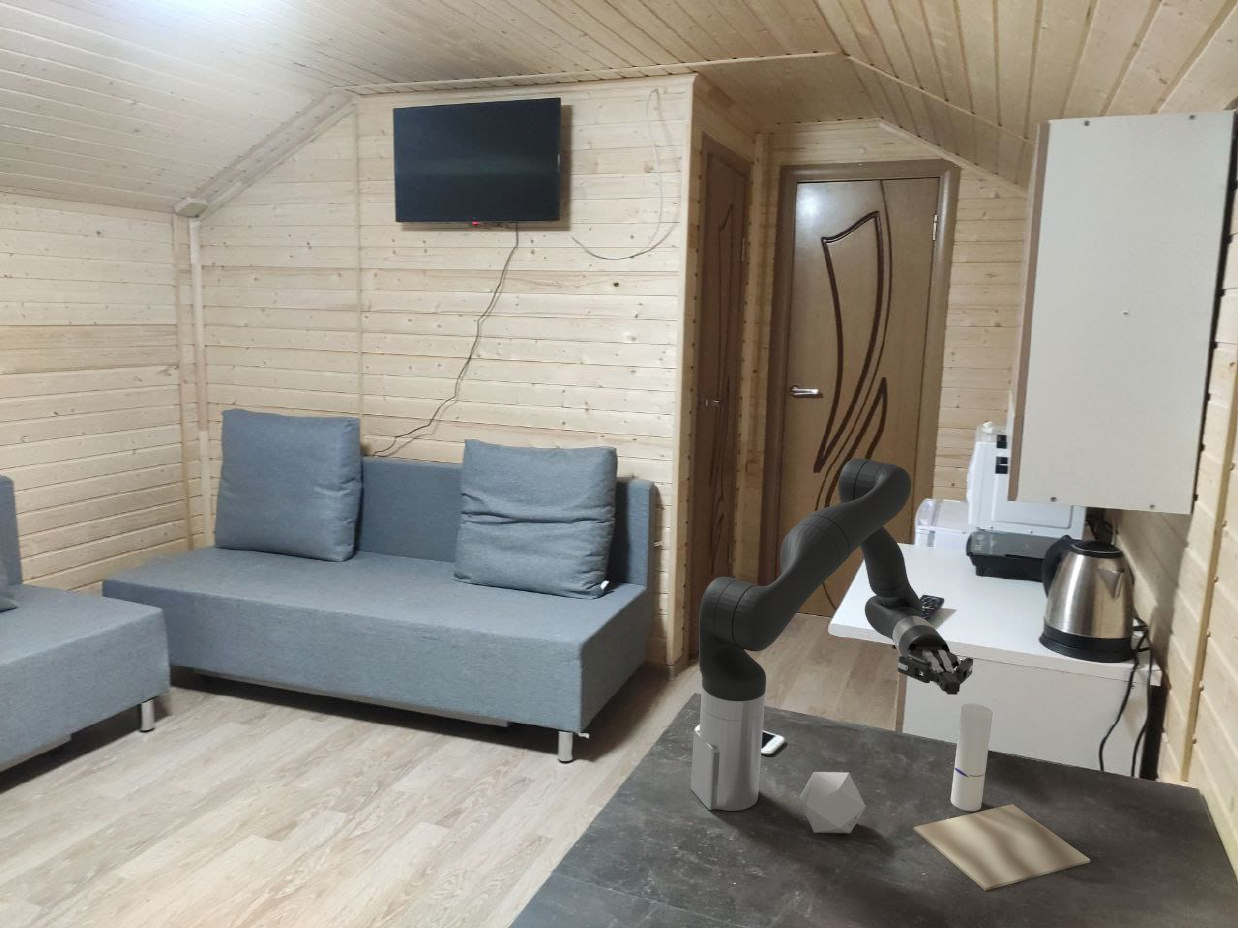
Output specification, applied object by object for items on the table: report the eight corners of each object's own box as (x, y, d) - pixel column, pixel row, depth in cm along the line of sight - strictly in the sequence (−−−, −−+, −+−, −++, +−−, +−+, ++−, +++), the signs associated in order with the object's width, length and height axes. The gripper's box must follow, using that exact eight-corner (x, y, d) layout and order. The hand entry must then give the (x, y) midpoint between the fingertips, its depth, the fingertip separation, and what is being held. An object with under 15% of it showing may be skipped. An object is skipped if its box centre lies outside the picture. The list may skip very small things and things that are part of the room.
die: (848, 857, 126) (884, 795, 128) (794, 821, 127) (830, 759, 128) (832, 842, 134) (866, 784, 136) (782, 808, 135) (816, 750, 136)
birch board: (985, 890, 119) (985, 887, 119) (913, 829, 132) (913, 826, 132) (1089, 861, 126) (1090, 859, 126) (1012, 806, 139) (1012, 803, 138)
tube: (980, 798, 140) (992, 706, 137) (981, 813, 136) (993, 719, 133) (950, 792, 142) (961, 701, 139) (950, 807, 138) (961, 713, 135)
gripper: (883, 623, 162) (913, 666, 145) (959, 624, 162) (998, 667, 145) (880, 663, 164) (909, 710, 147) (955, 664, 164) (993, 712, 147)
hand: (953, 689), depth 146 cm, fingers closed
